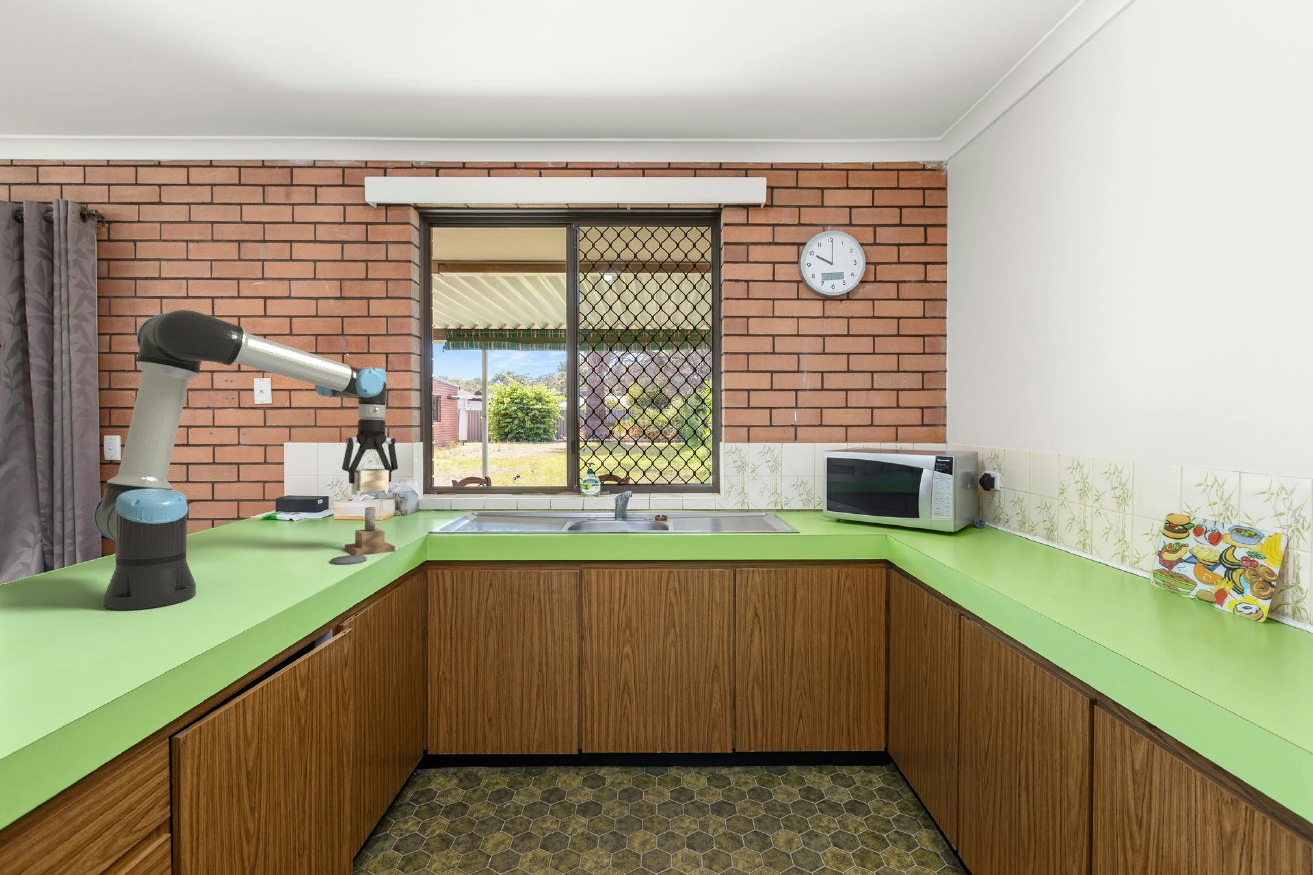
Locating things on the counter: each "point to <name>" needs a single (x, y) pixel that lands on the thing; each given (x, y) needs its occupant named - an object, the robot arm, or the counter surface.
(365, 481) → the birch collar
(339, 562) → the rubber coaster
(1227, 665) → the counter surface
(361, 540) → the post stand
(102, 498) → the robot arm
